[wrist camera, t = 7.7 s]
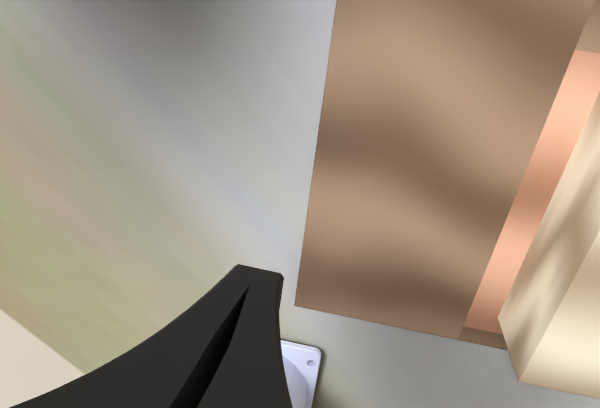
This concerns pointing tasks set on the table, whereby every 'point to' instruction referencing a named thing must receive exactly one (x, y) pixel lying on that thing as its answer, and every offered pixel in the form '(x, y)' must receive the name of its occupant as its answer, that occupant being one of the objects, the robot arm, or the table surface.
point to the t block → (562, 282)
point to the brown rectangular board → (441, 155)
